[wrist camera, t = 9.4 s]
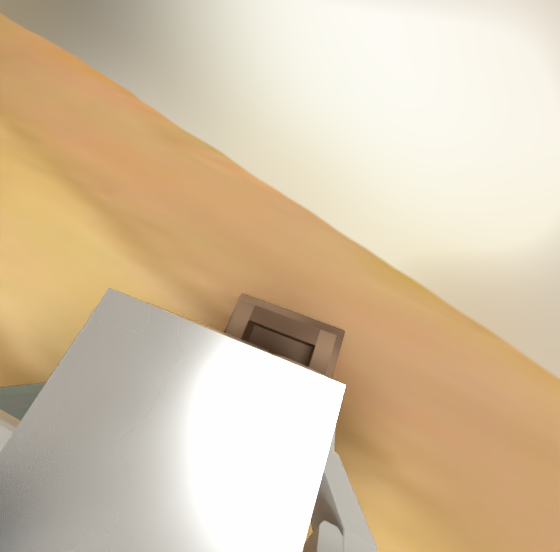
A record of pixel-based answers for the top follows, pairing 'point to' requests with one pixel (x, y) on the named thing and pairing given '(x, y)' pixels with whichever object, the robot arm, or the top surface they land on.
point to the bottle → (19, 398)
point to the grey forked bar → (166, 442)
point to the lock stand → (286, 334)
